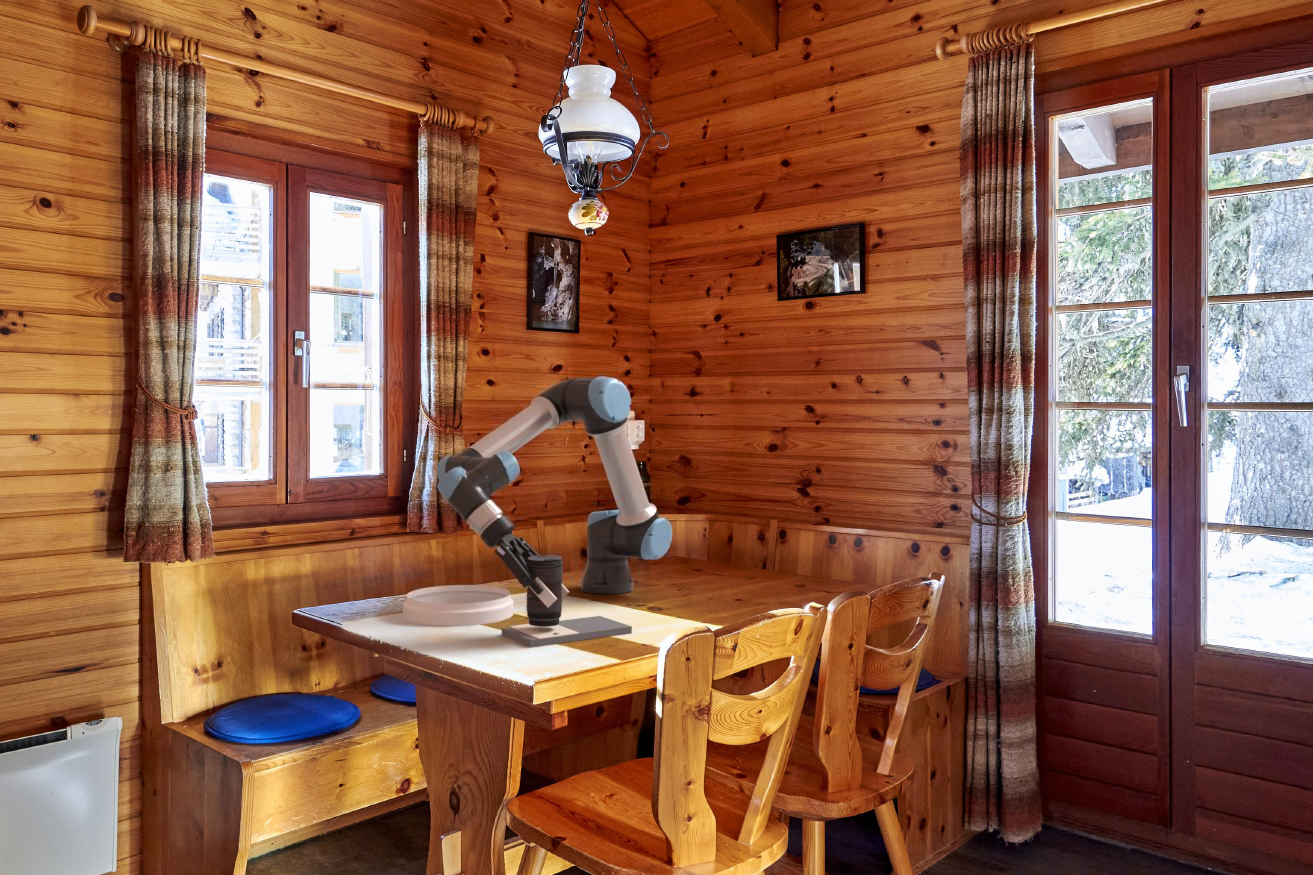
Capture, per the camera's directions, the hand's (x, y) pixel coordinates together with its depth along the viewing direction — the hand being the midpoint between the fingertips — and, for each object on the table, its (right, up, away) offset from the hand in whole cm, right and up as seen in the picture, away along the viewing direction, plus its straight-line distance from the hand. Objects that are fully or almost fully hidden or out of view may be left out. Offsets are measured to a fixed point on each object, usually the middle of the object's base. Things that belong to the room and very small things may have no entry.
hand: (558, 599), depth 208 cm
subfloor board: (+1, -9, +4) cm, 10 cm away
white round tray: (-27, -8, +24) cm, 38 cm away
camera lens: (-3, -6, +1) cm, 7 cm away
